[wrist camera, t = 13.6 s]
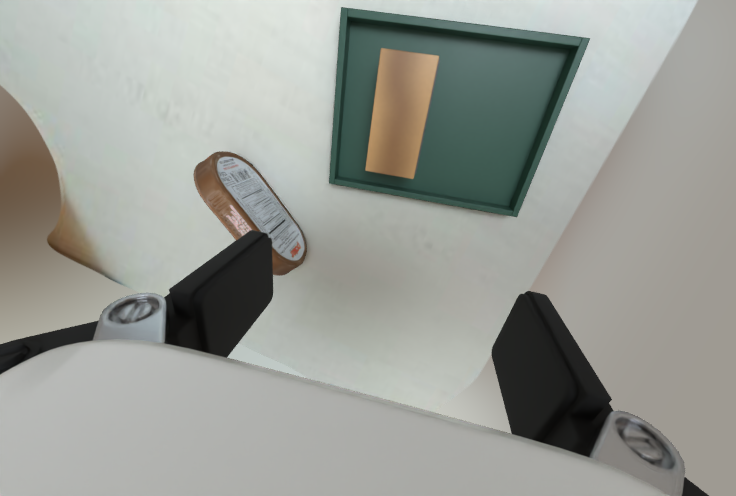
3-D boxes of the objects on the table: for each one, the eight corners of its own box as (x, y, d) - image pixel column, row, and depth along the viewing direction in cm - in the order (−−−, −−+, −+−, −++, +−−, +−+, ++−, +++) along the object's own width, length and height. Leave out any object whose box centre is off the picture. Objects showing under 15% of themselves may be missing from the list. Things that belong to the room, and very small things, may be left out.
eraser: (439, 61, 26) (442, 52, 21) (416, 171, 30) (415, 181, 26) (385, 53, 26) (378, 44, 22) (370, 163, 31) (362, 172, 27)
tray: (577, 43, 24) (590, 38, 22) (511, 210, 31) (517, 217, 29) (346, 14, 26) (341, 7, 24) (334, 179, 33) (328, 183, 31)
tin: (225, 156, 34) (170, 171, 26) (243, 142, 33) (191, 152, 25) (301, 255, 38) (272, 291, 31) (319, 245, 37) (293, 280, 30)
